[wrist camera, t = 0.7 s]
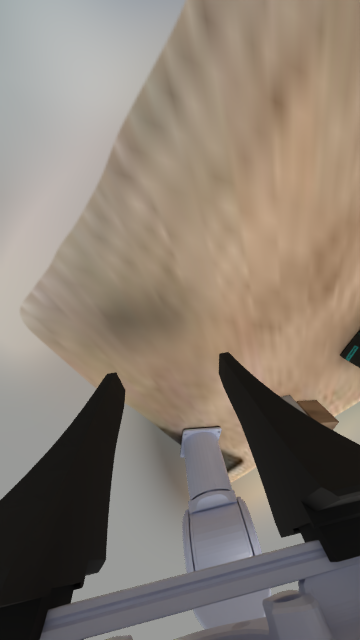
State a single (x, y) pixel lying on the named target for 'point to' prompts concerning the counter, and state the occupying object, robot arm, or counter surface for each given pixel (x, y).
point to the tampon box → (353, 351)
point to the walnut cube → (318, 413)
